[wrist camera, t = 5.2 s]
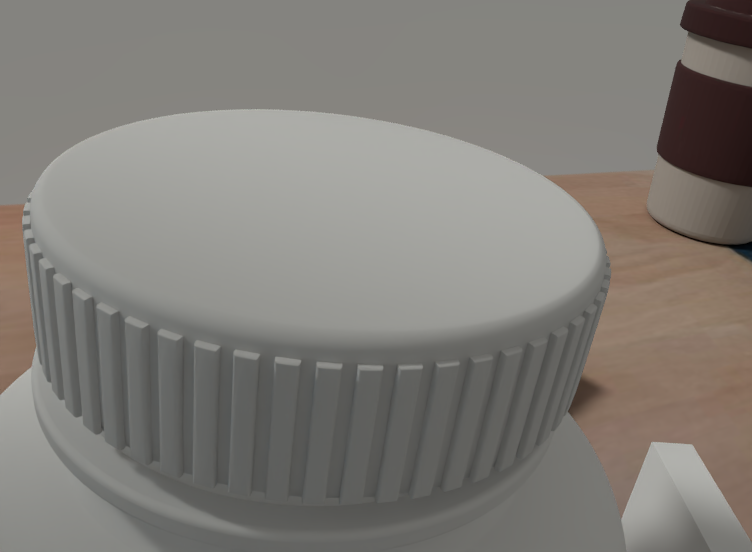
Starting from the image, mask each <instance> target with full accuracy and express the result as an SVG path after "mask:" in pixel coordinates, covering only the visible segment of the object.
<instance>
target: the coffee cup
mask: <svg viewBox="0 0 752 552" xmlns="http://www.w3.org/2000/svg"><path fill="white" fill-rule="evenodd" d="M680 25H681V27H682V28H683V29H685V30H687V31H688V36H687V40H686V44H685V48H684V52H683V56H682V59H681V60H679V61H678V63H677V66H676V69H675V73H674V77H673V82H672V86H671V90H670V94H669V98H668V102H667V106H666V111H665V115H664V119H663V123H662V127H661V131H660V136H659V140H658V144H657V152H658V159H657V163H656V167H655V171H654V175H653V179H652V183H651V187H650V191H649V195H648V199H647V210H648V212H649V214H650V215H651V216H652V218H654V219H655V220H656V221H657V222H659V223H660V224H661V225H663V226H665V227H667V228H669V229H671V230H673V231H675V232H677V233H680V234H682V235H685V236H688V237H691V238H694V239H698V240H702V241H706V242H711V243H717V244H728V245H738V244H745V243H749V242H751V241H752V0H689V1H688V2H687V3H686V6H685V10H684V13H683V16H682V20H681V23H680Z"/></svg>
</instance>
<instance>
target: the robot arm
mask: <svg viewBox="0 0 752 552" xmlns="http://www.w3.org/2000/svg"><path fill="white" fill-rule="evenodd" d="M621 522H622V527H623V531H624V537H625V543H626V550H627V552H752V542H751V541H750V539H749V537H748V536H747V534H746V532H745V531H744V529H743V528H742V526H741V524H740V523H739V521H738V519H737V518H736V516H735V514H734V513H733V511H732V509H731V508H730V506H729V505H728V503H727V501H726V500H725V498H724V496H723V495H722V493H721V491H720V490H719V488H718V486H717V485H716V483H715V481H714V480H713V478H712V477H711V475H710V473H709V472H708V470H707V468H706V467H705V465H704V463H703V462H702V460H701V458H700V457H699V455H698V454H697V452H696V450H695V449H694V447H693V445H691V444H676V443H661V442H652V443H651V445H650V448H649V451H648V453H647V456H646V458H645V461H644V463H643V466H642V468H641V471H640V473H639V476H638V478H637V481H636V484H635V486H634V489H633V491H632V494H631V496H630V499H629V501H628V504H627V506H626V509H625V511H624V514H623V517H622V519H621Z"/></svg>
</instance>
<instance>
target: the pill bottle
mask: <svg viewBox="0 0 752 552" xmlns="http://www.w3.org/2000/svg"><path fill="white" fill-rule="evenodd" d="M27 202H28V203H26V204H25V206H24V210H23V215H24V216H23V219H22V225H23V238H24V248H25V257H26V266H27V274H28V283H29V292H30V300H31V309H32V317H33V326H34V334H35V340H36V350H35V353H34V358H33V363H32V367H31V368H30V369H28V370H27V371H26V372H25V373H24V374H22V375H21V376H20V377H19V378H18V379H17V380H16V381H14V382H13V383H12V384H11V385H10V386H9V387H8V388H7V389H6V390H5V391H4V392H3V393H2V394H1V395H0V552H627V550H626V543H625V537H624V531H623V527H622V522H621V518H620V514H619V510H618V507H617V503H616V500H615V497H614V494H613V491H612V488H611V486H610V483H609V481H608V478H607V476H606V473H605V471H604V469H603V467H602V465H601V463H600V461H599V459H598V457H597V455H596V453H595V451H594V449H593V448H592V446H591V444H590V443H589V441H588V439H587V438H586V436H585V435H584V433H583V432H582V430H581V429H580V427H579V426H578V424H577V423H576V422H575V420H574V419H573V418H572V416H571V415H570V414H569V413H568V410H569V408H570V406H571V403H572V400H573V398H574V395H575V393H576V390H577V387H578V384H579V381H580V378H581V375H582V372H583V369H584V366H585V363H586V359H587V356H588V353H589V350H590V347H591V344H592V341H593V337H594V334H595V331H596V328H597V325H598V322H599V318H600V315H601V312H602V309H603V306H604V303H605V299H606V296H607V293H608V288H609V284H610V282H609V281H610V278H611V269H610V268H609V267H610V260H609V257H608V256H607V255H606V254H607V251H606V248H605V244H604V241H603V238H602V235H601V233H600V231H599V229H598V227H597V225H596V224H595V222H594V221H593V219H592V218H591V216H590V215H589V214H588V213H587V211H586V210H585V209H584V208H583V207H582V206H581V205H580V204H579V203H578V202H577V201H576V200H575V199H574V198H573V197H572V196H570V195H569V194H568V193H567V192H566V191H564V190H563V189H562V188H560V187H559V186H557V185H556V184H555V183H553V182H552V181H550V180H548V179H547V178H545V177H544V176H542V175H540V174H539V173H536V172H535V171H533V170H531V169H529V168H528V167H526V166H524V165H522V164H520V163H517V162H516V161H513V160H511V159H509V158H507V157H504V156H502V155H500V154H497V153H495V152H492V151H490V150H487V149H485V148H482V147H479V146H476V145H473V144H471V143H468V142H465V141H461V140H458V139H455V138H452V137H448V136H445V135H441V134H438V133H434V132H430V131H426V130H422V129H418V128H414V127H410V126H405V125H400V124H395V123H390V122H385V121H380V120H374V119H367V118H361V117H355V116H347V115H339V114H330V113H320V112H309V111H308V112H307V111H293V110H267V109H258V110H257V109H256V110H255V109H248V110H247V109H245V110H244V109H243V110H219V111H218V110H217V111H204V112H193V113H184V114H177V115H170V116H164V117H159V118H153V119H148V120H143V121H139V122H135V123H131V124H128V125H124V126H120V127H117V128H114V129H111V130H108V131H105V132H102V133H100V134H97V135H95V136H93V137H90V138H88V139H86V140H84V141H82V142H80V143H78V144H77V145H75V146H73V147H72V148H70V149H69V150H67V151H65V152H64V153H63V154H62V155H60V156H59V157H58V158H56V159H55V160H54V161H53V162H52V163H51V164H50V165H49V166H48V167H47V168H46V169H45V171H44V172H43V174H42V175H41V176H40V178H39V179H38V181H37V183H36V185H35V187H34V190H33V191H31V193H30V195H29V196H28V198H27Z"/></svg>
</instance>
